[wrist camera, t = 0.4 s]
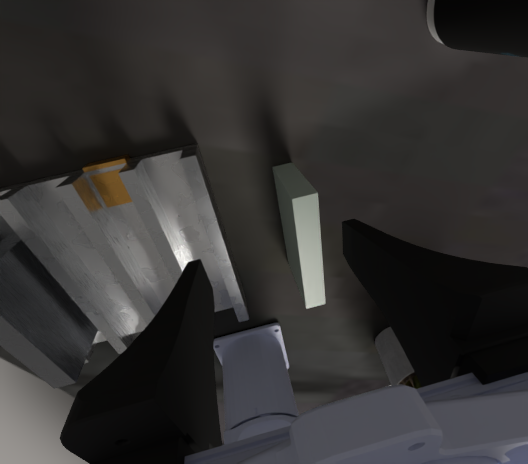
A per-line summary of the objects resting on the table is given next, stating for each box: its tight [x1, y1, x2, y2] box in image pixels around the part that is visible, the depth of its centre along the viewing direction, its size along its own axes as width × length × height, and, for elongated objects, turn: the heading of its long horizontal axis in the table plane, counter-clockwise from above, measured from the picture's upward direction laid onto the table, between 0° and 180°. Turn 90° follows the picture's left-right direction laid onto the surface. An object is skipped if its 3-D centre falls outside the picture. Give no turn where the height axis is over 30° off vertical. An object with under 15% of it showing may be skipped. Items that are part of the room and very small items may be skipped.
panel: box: [272, 163, 325, 309], centre depth 21 cm, size 10×2×6 cm, turn 10°
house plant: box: [375, 327, 422, 389], centre depth 30 cm, size 14×14×16 cm
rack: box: [0, 143, 249, 388], centre depth 20 cm, size 16×16×7 cm
